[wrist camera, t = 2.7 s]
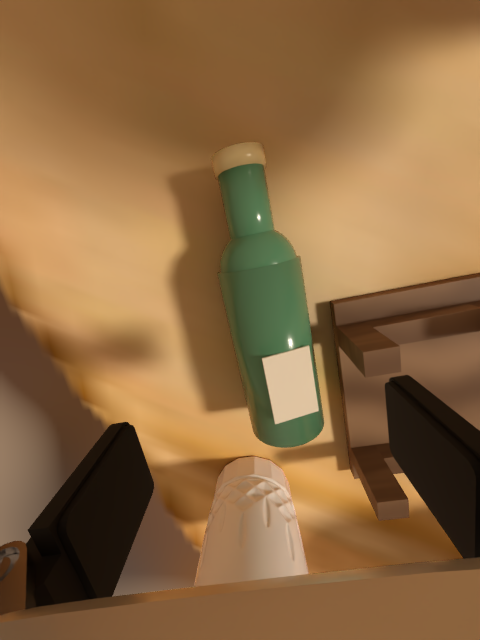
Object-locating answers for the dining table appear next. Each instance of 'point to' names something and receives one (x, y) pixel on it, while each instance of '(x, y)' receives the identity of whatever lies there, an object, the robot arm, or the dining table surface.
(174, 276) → the dining table surface
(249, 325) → the bottle
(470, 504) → the robot arm
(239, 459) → the white cup
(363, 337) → the cradle
